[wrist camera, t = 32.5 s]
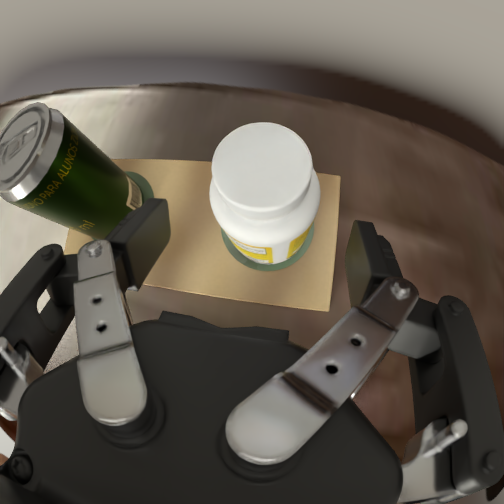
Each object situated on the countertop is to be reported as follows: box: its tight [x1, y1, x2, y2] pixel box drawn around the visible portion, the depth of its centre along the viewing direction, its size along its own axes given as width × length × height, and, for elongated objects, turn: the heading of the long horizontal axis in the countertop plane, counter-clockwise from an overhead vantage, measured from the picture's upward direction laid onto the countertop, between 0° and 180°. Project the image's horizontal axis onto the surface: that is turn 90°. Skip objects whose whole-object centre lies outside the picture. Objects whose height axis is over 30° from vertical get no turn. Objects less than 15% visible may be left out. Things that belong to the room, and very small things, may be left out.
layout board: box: [64, 159, 340, 311], centre depth 21 cm, size 22×10×1 cm, turn 82°
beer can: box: [0, 102, 144, 240], centre depth 16 cm, size 5×5×12 cm
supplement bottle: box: [209, 122, 320, 264], centre depth 16 cm, size 5×5×10 cm
